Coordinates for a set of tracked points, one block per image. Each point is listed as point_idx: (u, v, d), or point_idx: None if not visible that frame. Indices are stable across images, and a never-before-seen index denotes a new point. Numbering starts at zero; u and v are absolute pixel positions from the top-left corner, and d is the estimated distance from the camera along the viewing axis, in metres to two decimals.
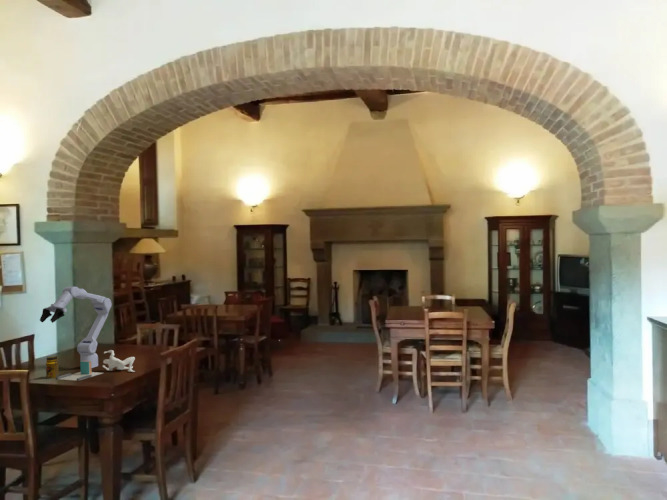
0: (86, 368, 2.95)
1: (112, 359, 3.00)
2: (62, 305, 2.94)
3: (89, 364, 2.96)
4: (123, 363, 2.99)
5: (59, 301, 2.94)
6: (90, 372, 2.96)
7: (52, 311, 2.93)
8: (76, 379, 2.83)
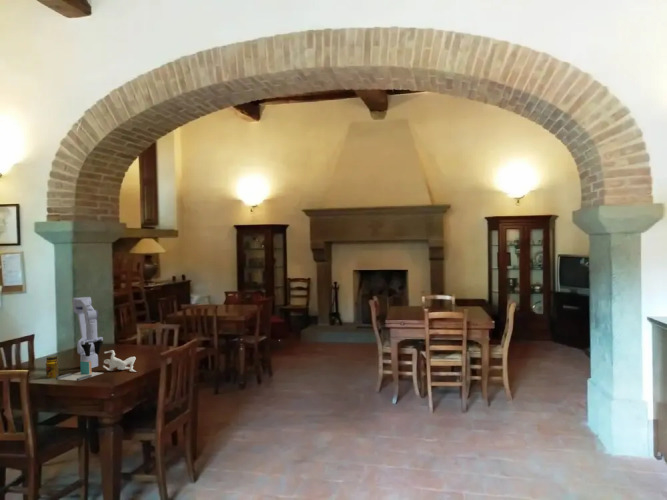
0: (86, 368, 2.95)
1: (113, 359, 3.00)
2: None
3: (89, 364, 2.96)
4: (124, 363, 3.00)
5: None
6: (90, 372, 2.96)
7: (89, 342, 3.00)
8: (76, 379, 2.83)
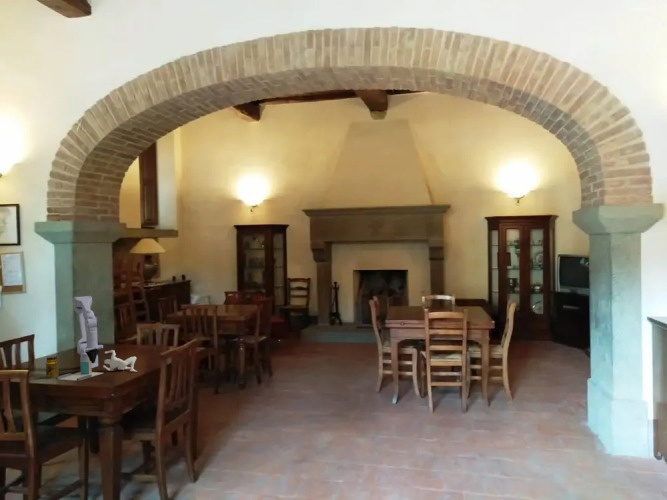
0: (86, 368, 2.95)
1: (114, 359, 3.00)
2: None
3: (89, 364, 2.96)
4: (125, 363, 3.00)
5: None
6: (90, 372, 2.96)
7: None
8: (76, 379, 2.83)
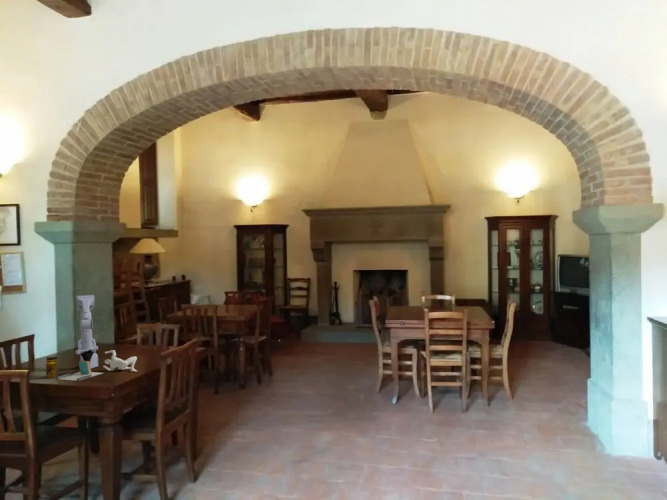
0: (85, 368, 2.95)
1: (114, 359, 3.00)
2: None
3: (88, 364, 2.95)
4: (126, 363, 3.00)
5: (91, 342, 2.98)
6: (90, 372, 2.96)
7: None
8: (76, 379, 2.83)
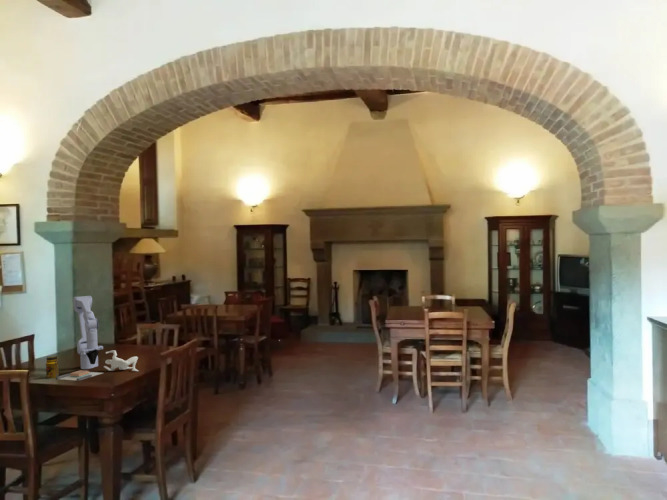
0: None
1: (115, 359, 3.00)
2: None
3: (81, 375, 2.90)
4: (127, 363, 3.00)
5: (97, 342, 3.02)
6: (87, 372, 2.94)
7: None
8: (76, 379, 2.83)
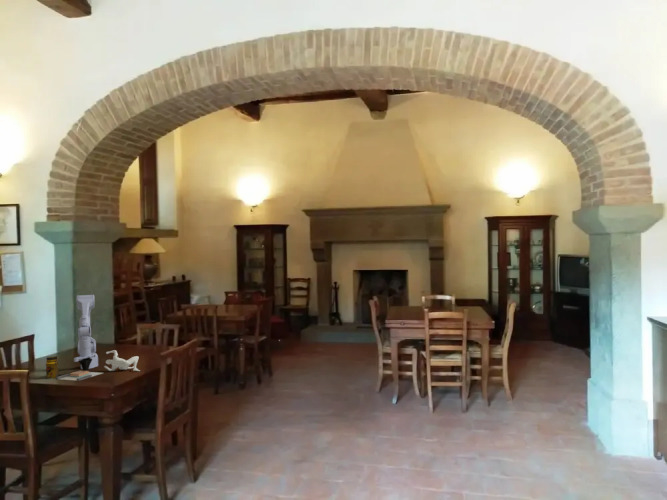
0: None
1: (116, 359, 3.00)
2: None
3: (81, 375, 2.90)
4: (128, 362, 3.00)
5: (90, 349, 2.97)
6: (87, 372, 2.94)
7: None
8: (76, 379, 2.83)
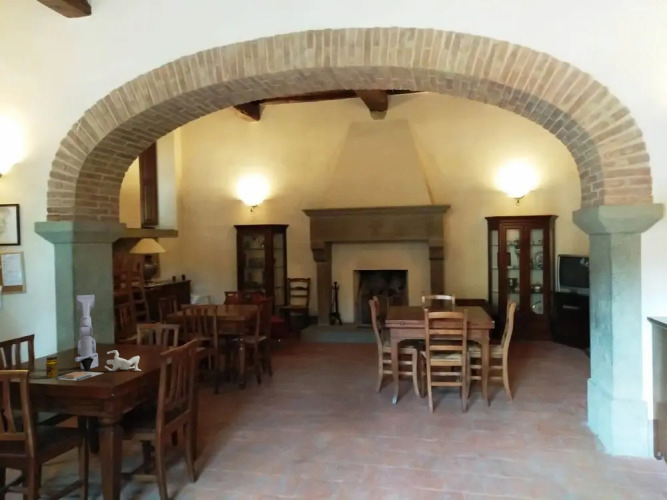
0: None
1: (117, 359, 3.00)
2: None
3: (76, 376, 2.87)
4: (129, 362, 3.01)
5: (91, 349, 2.98)
6: (82, 374, 2.91)
7: None
8: (76, 379, 2.83)
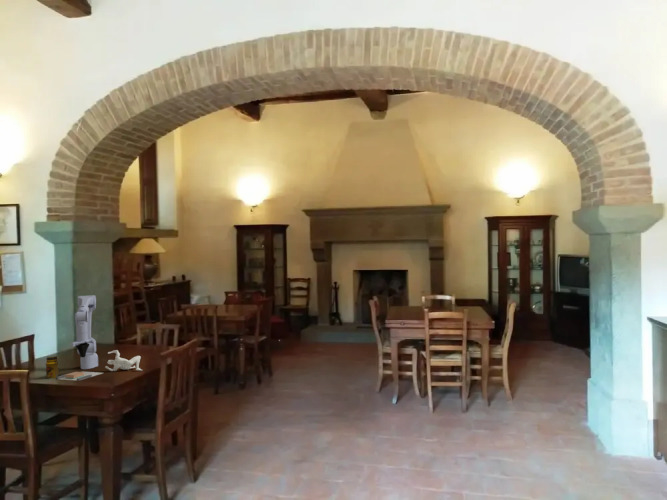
0: None
1: (119, 359, 3.00)
2: None
3: (76, 376, 2.87)
4: (131, 362, 3.01)
5: (87, 334, 2.97)
6: (82, 374, 2.91)
7: None
8: (76, 379, 2.83)
